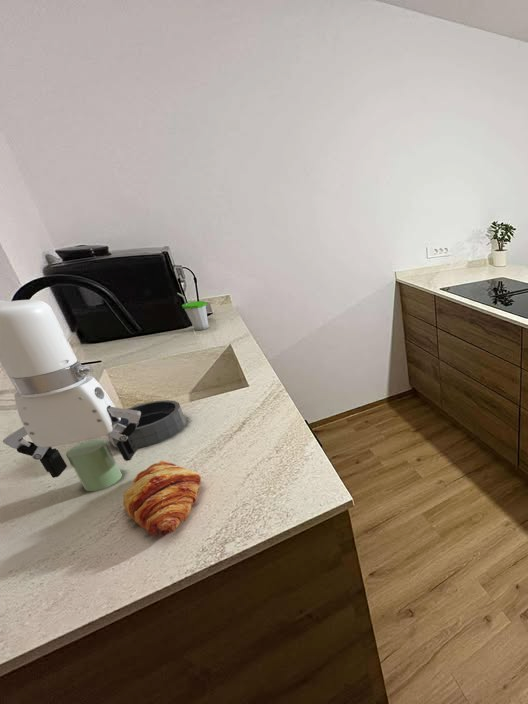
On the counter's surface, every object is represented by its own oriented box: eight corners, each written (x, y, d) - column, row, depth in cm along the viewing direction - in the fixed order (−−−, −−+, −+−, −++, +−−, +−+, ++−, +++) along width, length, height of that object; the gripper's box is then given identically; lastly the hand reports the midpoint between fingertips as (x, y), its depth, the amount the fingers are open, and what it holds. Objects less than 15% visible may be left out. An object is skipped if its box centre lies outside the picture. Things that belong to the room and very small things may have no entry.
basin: (103, 458, 75) (93, 437, 73) (126, 426, 86) (117, 407, 84) (179, 441, 80) (171, 422, 78) (192, 413, 91) (185, 395, 89)
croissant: (151, 493, 71) (109, 472, 66) (199, 452, 74) (163, 430, 69) (158, 567, 56) (105, 547, 51) (218, 512, 60) (174, 488, 55)
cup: (218, 326, 153) (207, 290, 147) (201, 332, 146) (189, 294, 140) (202, 325, 155) (191, 289, 149) (185, 331, 148) (172, 293, 142)
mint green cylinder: (80, 497, 65) (59, 460, 62) (93, 479, 70) (74, 443, 66) (117, 488, 67) (98, 452, 64) (127, 471, 71) (110, 436, 68)
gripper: (127, 359, 66) (162, 440, 73) (-11, 380, 60) (42, 466, 66) (110, 376, 60) (150, 462, 67) (-46, 401, 53) (17, 493, 60)
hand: (96, 464), depth 67 cm, fingers open, 9 cm apart
